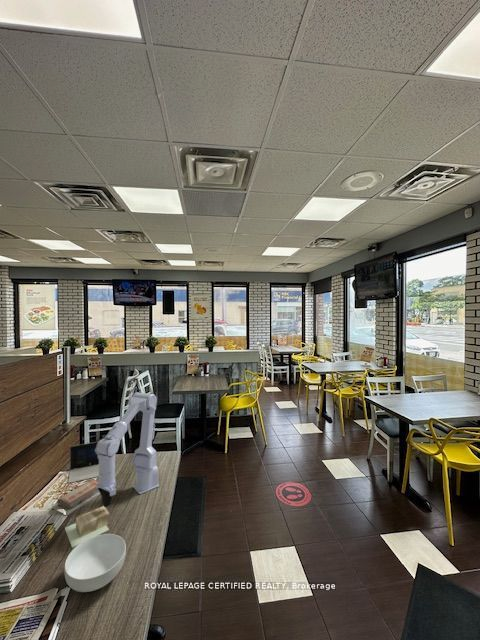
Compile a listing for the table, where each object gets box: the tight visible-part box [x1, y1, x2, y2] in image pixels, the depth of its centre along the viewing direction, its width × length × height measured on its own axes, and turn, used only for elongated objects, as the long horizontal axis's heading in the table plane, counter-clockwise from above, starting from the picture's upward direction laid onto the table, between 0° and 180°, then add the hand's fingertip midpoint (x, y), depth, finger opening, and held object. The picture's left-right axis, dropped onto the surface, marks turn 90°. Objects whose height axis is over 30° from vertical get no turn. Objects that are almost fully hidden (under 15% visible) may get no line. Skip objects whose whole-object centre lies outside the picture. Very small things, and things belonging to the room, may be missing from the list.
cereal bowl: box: [63, 533, 127, 593], centre depth 86 cm, size 17×17×7 cm
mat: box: [64, 522, 110, 549], centre depth 105 cm, size 12×12×1 cm
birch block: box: [75, 505, 110, 537], centre depth 106 cm, size 4×6×10 cm
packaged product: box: [51, 478, 101, 516], centre depth 122 cm, size 18×5×10 cm
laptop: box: [67, 441, 99, 484], centre depth 143 cm, size 18×12×13 cm
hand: (106, 505), depth 110 cm, fingers closed
